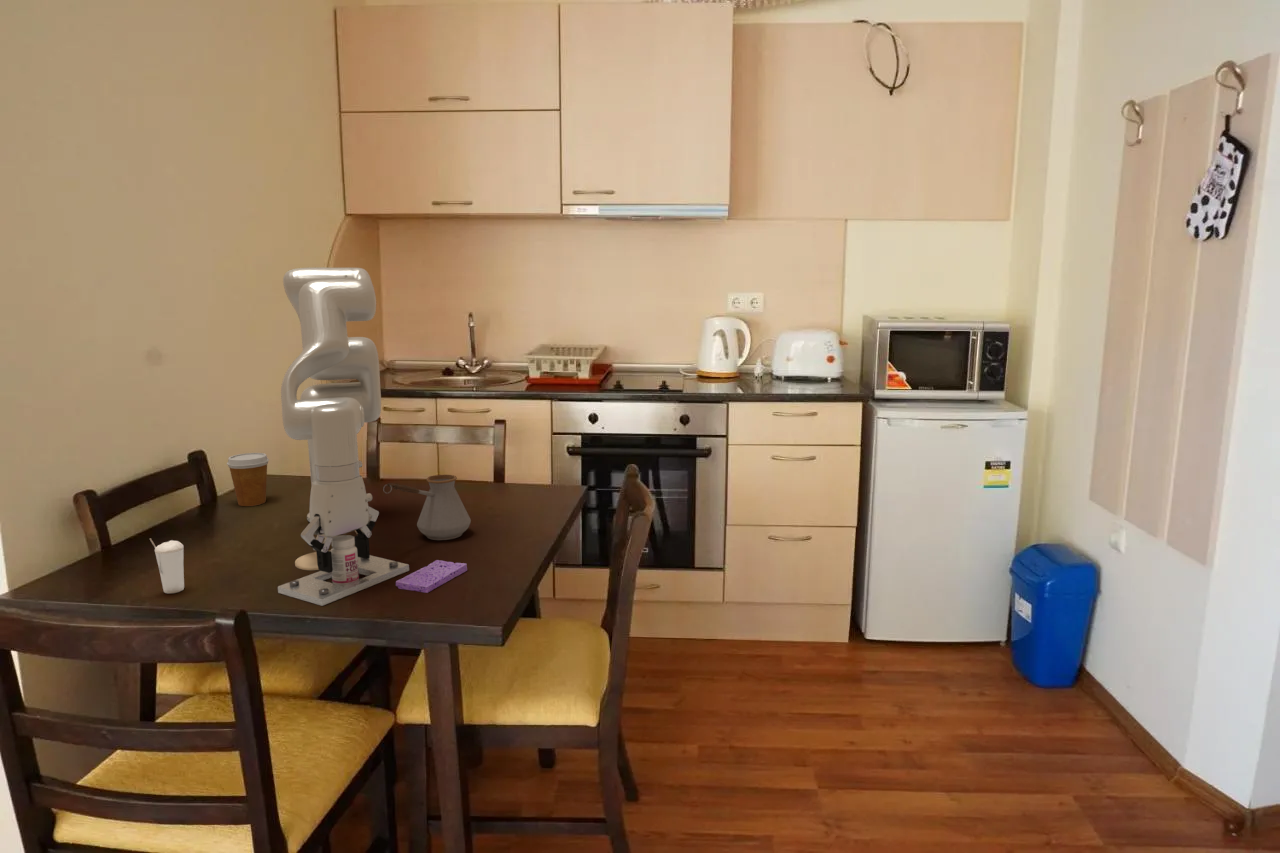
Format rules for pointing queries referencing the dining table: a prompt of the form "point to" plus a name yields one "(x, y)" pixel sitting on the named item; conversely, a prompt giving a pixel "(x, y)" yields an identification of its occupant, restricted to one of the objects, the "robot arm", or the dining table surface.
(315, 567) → the cork coaster
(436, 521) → the coffee pot
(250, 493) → the disposable coffee cup
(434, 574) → the sponges
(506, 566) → the dining table surface
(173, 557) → the milkshake
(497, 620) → the dining table surface
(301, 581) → the flange plate
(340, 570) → the pill bottle
